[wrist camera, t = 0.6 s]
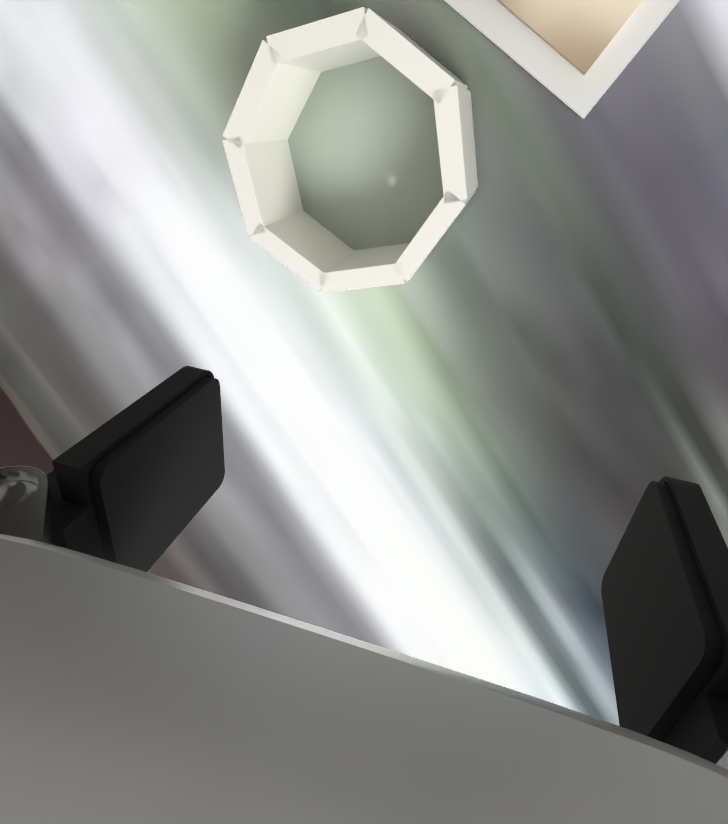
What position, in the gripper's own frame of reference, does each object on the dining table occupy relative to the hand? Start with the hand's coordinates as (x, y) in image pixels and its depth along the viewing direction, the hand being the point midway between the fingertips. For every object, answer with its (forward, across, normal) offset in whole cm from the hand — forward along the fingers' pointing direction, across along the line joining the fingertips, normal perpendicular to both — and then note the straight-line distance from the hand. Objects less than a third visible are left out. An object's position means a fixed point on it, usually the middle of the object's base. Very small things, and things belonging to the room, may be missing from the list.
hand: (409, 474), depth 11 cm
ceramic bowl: (+27, +9, -3) cm, 29 cm away
